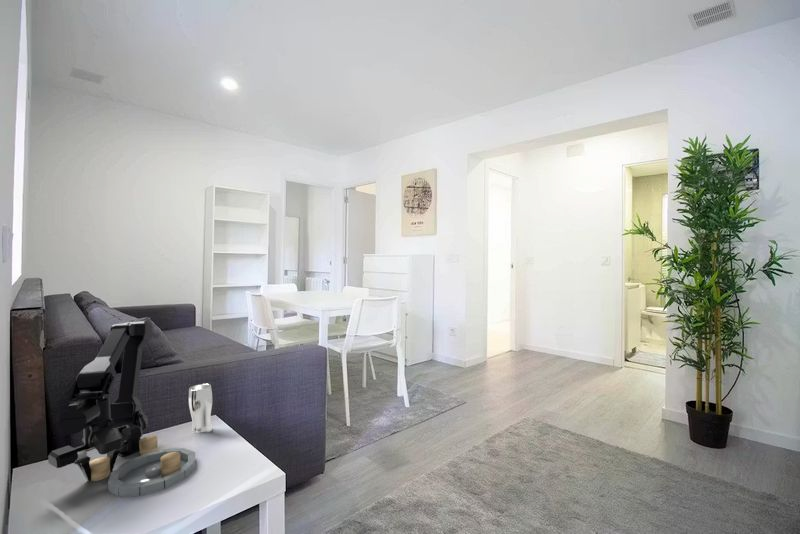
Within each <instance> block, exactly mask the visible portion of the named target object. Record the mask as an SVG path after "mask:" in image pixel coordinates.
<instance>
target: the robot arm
mask: <svg viewBox="0 0 800 534" xmlns="http://www.w3.org/2000/svg"><path fill="white" fill-rule="evenodd" d="M108 334H109V335H108V336H107V337H106V340H105V341H104V343H103V344H102V346H101V348H100V350H99V351H98V353H97V355H96V357H95V359H94V360H92V361H91V362H89V363H87V364H86V365H85V366H84V367H82V369H81V370H80V372H79V373H78V374H77V376H76V377H75V380H74V383H73V385H72V388H71V391H70V393H69V397H68V399H67V402H68V403H70V404H69V405H67V411H65V412H63V414H61V416H60V417H59V419H58V422H57V424H58V428H59V430H60V431H61V432H63V433H65V434H68V435H75V434H79V433H80V432H82V431H83V437H82V438H81V439H82V440H81V442H82V443H83V444H81V445H79V446H77V447H72V446H71V445H66V446H63V447H60V448H56V449H53V450H52V451H50V453H49V454H48V456H47V458H48V459H47V460H48V464H49V465H51V466H53V467H55V468H56V469H61V468H63V467H66V466H68V465H71V464H74V465H77V467H78V468H79V470H80V471H81V472H82V474H83V476H84V477H85V480H87V482H92V481H91V472H90V465H89V463H90V462H91V457H90V456H88V454H87V453H88V452H90V451H92V450H95V449H96V450H97V452H98V454H99V455H106V457H109V458H110V473H112V472H113V471H114V467H115V464H116V461H117V459H118V457H119V456H120V457H122V458H123V457H127V456H128V455H131V454H134V453H136V452H140V446H139V440H140V439H142V438H143V430H145V429H148V422H149V418H148V416H147V415H146V414H145V413H144V411H143V405H142V402H141V401H140V399H139V398H138V393H139V391H138V390H139V382H140V375H141V368H142V367H141V365H142V357H143V350H144V348H145V347H146V346H147V345H148V343H149V342H150V339H151V335H152V334H153V325H152V323H149V321H148V320H139V321H138V320H136V321H135V320H134V321H124V322H123V323H122V322H121V323H115V324H113V325H112V326H111V327H110V331H109V333H108ZM122 353H123V356H122V364H121V371H120V372H121V373H120V379H119V386H118V387H119V388H118V395H117V398H116V399H115V401H114V402H113V403H111V394H113V393H114V391H113V387H114V385H115V382H116V380H117V379H116V377H117V372H116V370H115V369H116V368H115V367H116V365H117V364H118V363H117V362H118V360H119V359H120V357H121V355H122Z"/></svg>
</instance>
